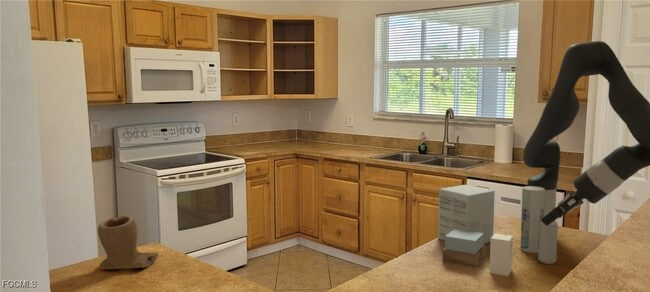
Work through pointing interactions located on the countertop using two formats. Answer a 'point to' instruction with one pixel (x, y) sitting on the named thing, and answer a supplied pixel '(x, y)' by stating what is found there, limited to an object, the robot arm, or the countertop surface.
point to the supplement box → (466, 210)
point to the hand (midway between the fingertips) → (547, 219)
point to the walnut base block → (464, 257)
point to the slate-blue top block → (464, 241)
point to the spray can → (531, 217)
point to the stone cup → (122, 245)
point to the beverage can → (548, 243)
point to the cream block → (501, 254)
